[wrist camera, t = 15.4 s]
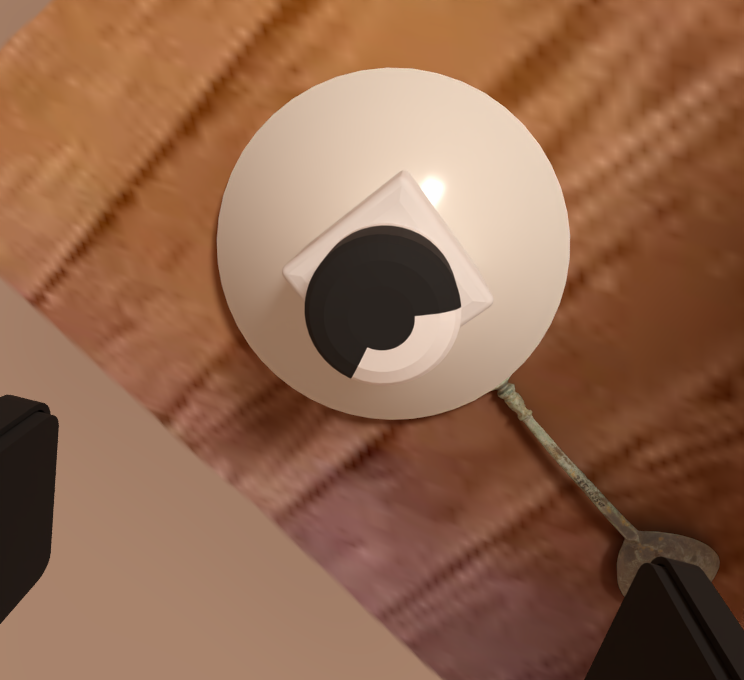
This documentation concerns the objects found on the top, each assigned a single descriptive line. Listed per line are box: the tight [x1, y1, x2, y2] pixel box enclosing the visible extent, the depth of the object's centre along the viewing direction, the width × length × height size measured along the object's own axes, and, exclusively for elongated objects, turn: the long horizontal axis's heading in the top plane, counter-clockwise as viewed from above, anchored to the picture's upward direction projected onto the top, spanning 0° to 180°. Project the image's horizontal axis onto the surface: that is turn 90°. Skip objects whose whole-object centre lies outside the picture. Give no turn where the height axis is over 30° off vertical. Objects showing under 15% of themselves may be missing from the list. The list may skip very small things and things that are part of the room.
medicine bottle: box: [282, 170, 494, 386], centre depth 27 cm, size 7×7×12 cm
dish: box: [217, 68, 570, 420], centre depth 33 cm, size 20×20×1 cm
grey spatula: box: [491, 377, 720, 596], centre depth 37 cm, size 22×3×7 cm
